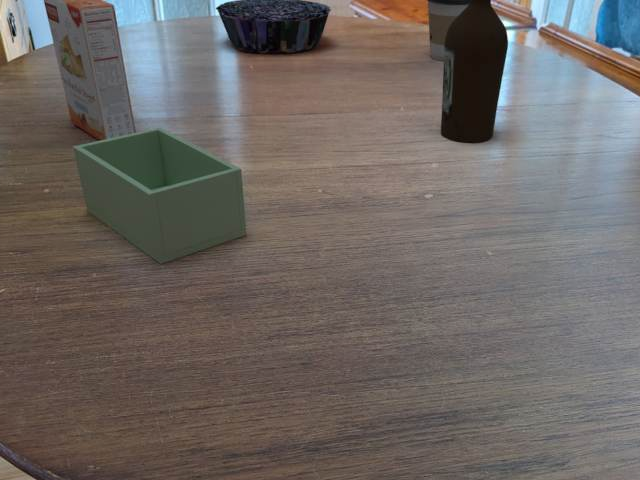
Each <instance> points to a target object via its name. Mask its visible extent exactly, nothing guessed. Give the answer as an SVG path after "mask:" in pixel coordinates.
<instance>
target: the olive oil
mask: <svg viewBox="0 0 640 480" xmlns="http://www.w3.org/2000/svg"><path fill="white" fill-rule="evenodd" d="M508 48H509V37H508V31H507V29H506V26H505V24H504V23H503V21H502V20H501V18H500V17H499V15H498V14H497V13H496V11H495V9H494V7H493V6H492V0H471V1H470V4H469V5H468V6H467V7H466V8H465V9H464V10H463V11H462V12H461V14H460V15H459V16H458V17H457V18H456V19H455V20H454V21H453V22H452V23H451V25H450V26H449V28H448V31H447V34H446V37H445V43H444V61H443V70H442V72H443V73H442V95H441V97H442V99H441V119H440V121H441V122H440V134H441V135H442V136H443V137H444V138H447V139H449V140H452V141H455V142H461V143H483V142H486V141H489V140H490V139H492V137H493V135H494V130H495V123H496V117H497V110H498V104H499V98H500V92H501V87H502V82H503V77H504V76H503V75H504V70H505V65H506V59H507V55H508V54H507V53H508V50H509V49H508Z"/></svg>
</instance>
